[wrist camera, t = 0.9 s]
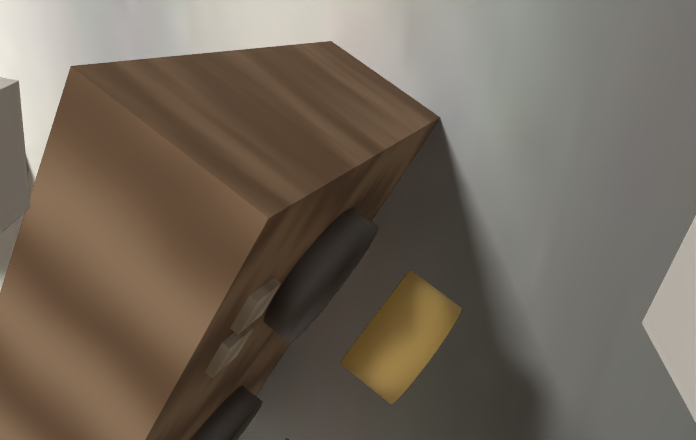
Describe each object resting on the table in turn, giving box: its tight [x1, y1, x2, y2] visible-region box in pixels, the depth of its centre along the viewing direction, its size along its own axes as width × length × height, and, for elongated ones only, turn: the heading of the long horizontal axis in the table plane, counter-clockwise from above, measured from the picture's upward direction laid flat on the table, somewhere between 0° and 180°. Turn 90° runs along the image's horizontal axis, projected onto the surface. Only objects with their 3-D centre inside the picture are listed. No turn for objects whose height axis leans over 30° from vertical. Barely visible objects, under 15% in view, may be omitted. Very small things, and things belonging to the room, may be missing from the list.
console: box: [0, 41, 440, 440], centre depth 34 cm, size 28×10×20 cm, turn 149°
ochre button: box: [340, 270, 462, 404], centre depth 29 cm, size 6×3×6 cm, turn 148°
